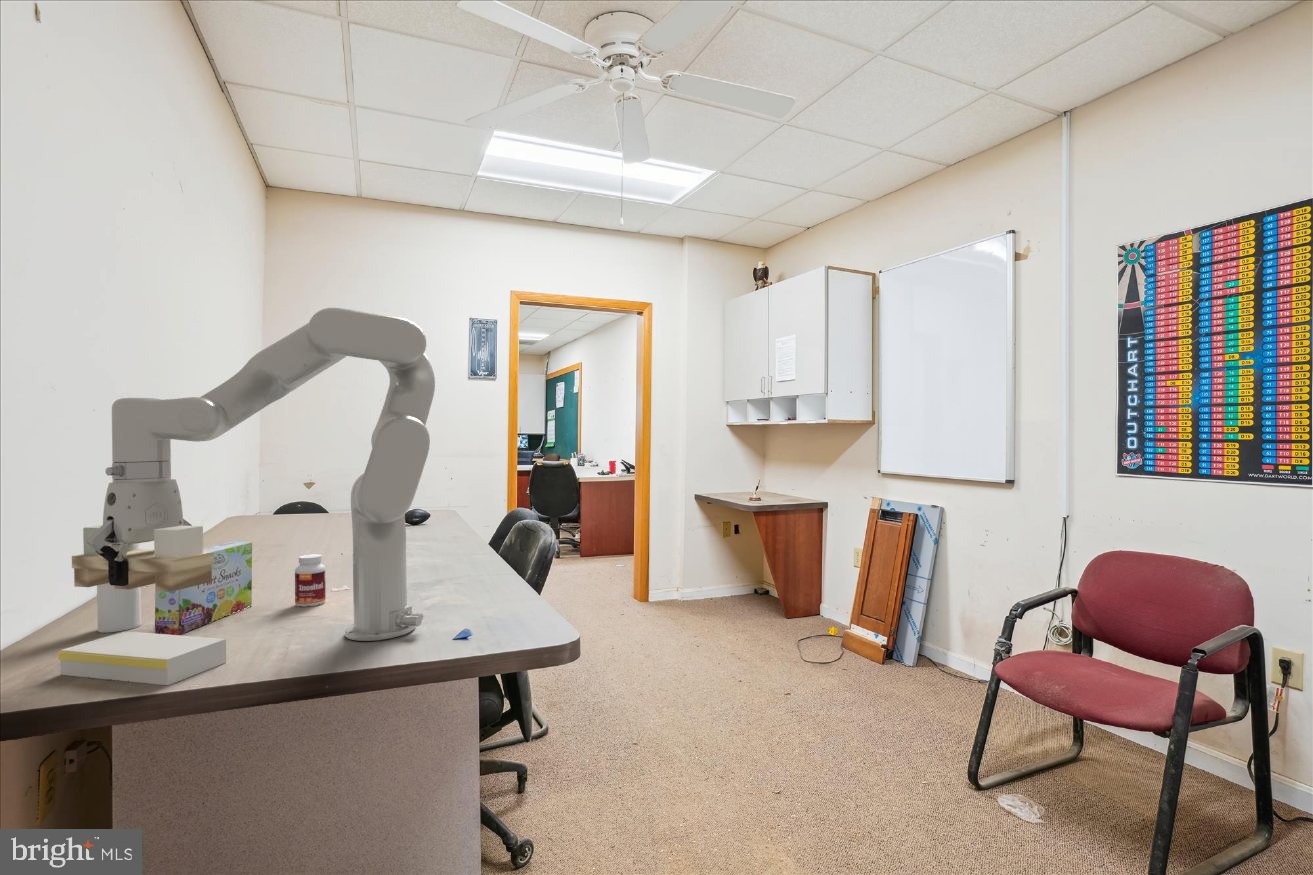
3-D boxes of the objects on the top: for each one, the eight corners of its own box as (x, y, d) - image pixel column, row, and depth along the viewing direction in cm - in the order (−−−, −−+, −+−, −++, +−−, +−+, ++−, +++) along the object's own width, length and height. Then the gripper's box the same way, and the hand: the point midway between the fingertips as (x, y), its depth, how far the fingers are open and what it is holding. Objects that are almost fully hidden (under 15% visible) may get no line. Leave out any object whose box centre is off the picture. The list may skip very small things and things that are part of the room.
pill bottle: (296, 609, 140) (295, 559, 140) (293, 603, 145) (292, 555, 145) (327, 604, 143) (327, 556, 143) (323, 599, 148) (323, 552, 148)
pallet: (214, 581, 105) (213, 551, 105) (173, 592, 98) (172, 560, 98) (117, 576, 110) (117, 548, 110) (72, 586, 103) (71, 555, 103)
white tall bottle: (90, 630, 126) (88, 505, 126) (129, 621, 132) (127, 502, 132) (109, 634, 123) (107, 507, 123) (148, 624, 129) (146, 503, 129)
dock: (226, 662, 106) (225, 638, 106) (165, 686, 96) (165, 660, 96) (125, 653, 112) (125, 631, 112) (58, 675, 102) (58, 650, 102)
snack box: (181, 636, 122) (180, 558, 122) (153, 636, 122) (152, 558, 122) (254, 606, 143) (253, 540, 143) (229, 606, 143) (228, 540, 143)
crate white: (203, 553, 104) (202, 526, 104) (176, 558, 100) (176, 530, 100) (181, 552, 105) (181, 525, 105) (154, 557, 101) (154, 529, 101)
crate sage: (133, 550, 108) (132, 524, 108) (104, 555, 103) (103, 528, 103) (112, 549, 109) (112, 523, 109) (83, 554, 104) (83, 527, 104)
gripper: (102, 476, 95) (104, 593, 95) (209, 469, 112) (210, 569, 112) (65, 475, 97) (66, 591, 97) (175, 469, 113) (177, 568, 114)
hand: (143, 578), depth 104 cm, fingers closed on pallet, 7 cm apart
